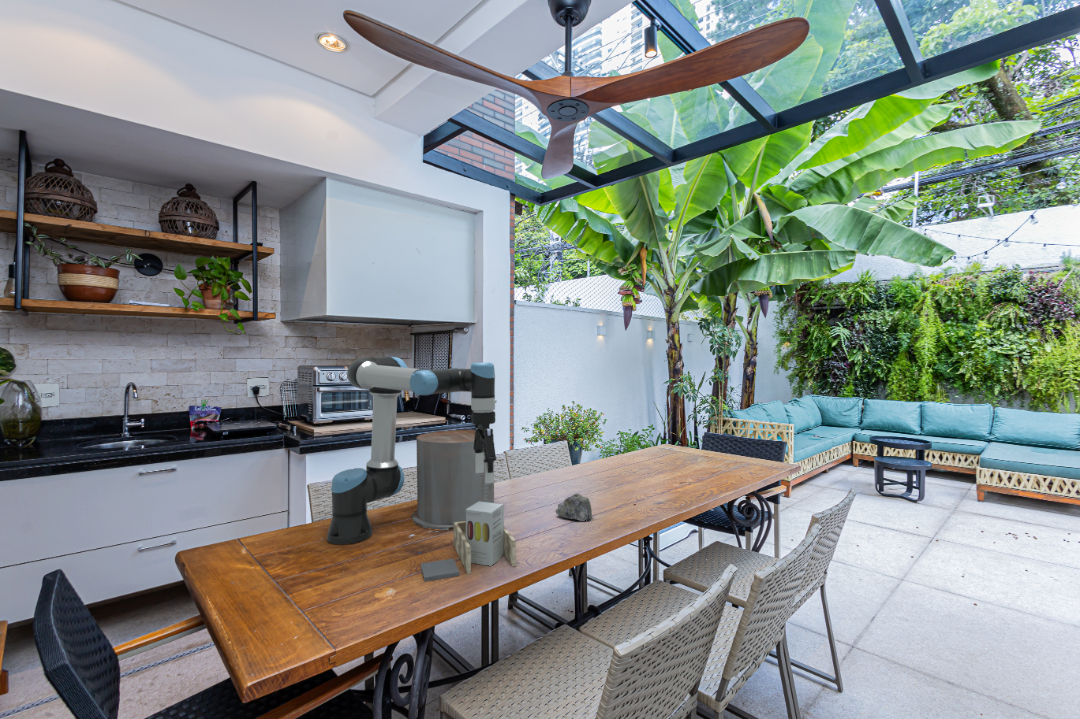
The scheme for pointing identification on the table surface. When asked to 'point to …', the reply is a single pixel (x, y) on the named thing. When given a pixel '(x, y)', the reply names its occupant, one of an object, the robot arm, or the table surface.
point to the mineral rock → (575, 508)
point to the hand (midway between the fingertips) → (484, 477)
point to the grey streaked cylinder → (448, 479)
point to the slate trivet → (439, 569)
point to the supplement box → (485, 532)
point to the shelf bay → (465, 549)
